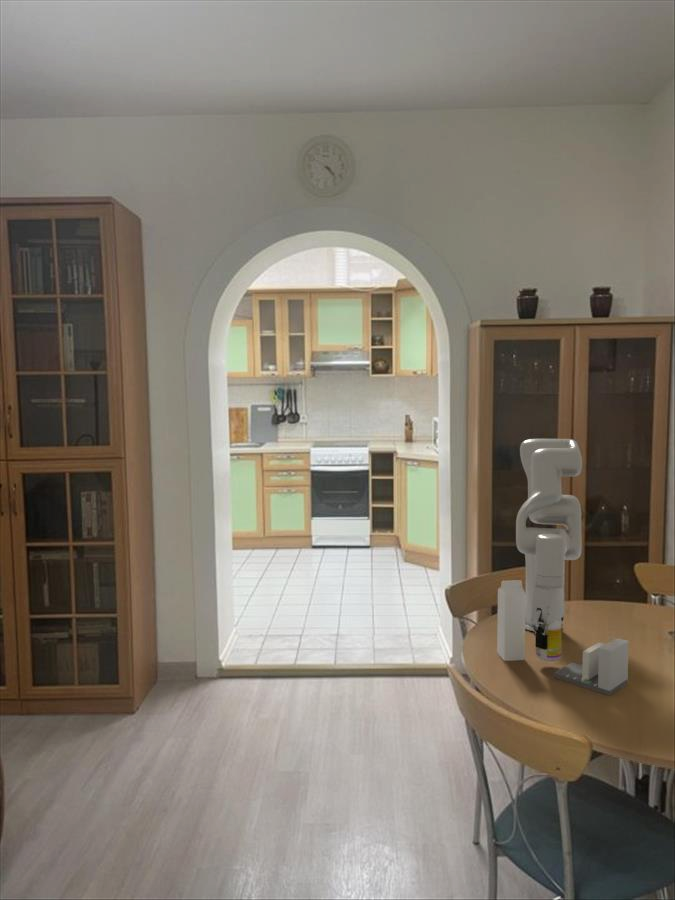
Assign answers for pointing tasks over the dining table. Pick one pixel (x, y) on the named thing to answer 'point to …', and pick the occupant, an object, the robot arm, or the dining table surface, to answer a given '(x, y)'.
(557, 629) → the supplement bottle
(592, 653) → the cream flat slab
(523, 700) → the dining table surface
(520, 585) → the milk
